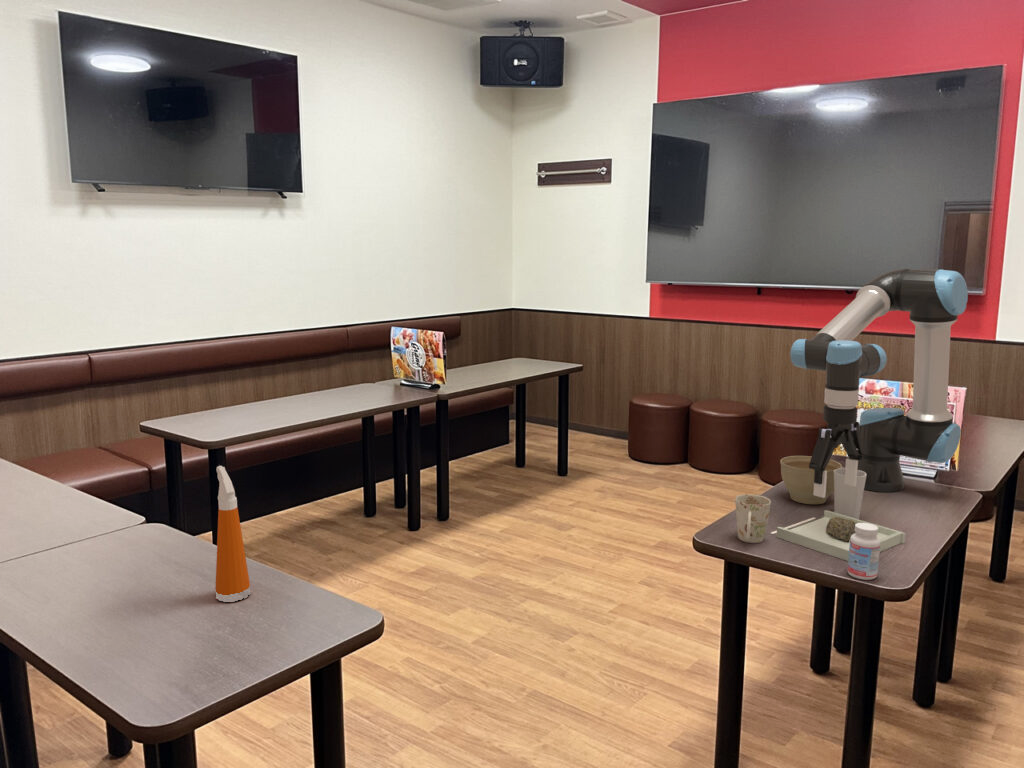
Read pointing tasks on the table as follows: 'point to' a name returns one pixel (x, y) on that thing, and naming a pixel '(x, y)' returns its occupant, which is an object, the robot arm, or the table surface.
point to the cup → (848, 494)
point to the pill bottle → (864, 552)
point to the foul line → (795, 524)
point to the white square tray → (824, 542)
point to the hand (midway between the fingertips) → (835, 490)
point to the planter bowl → (805, 479)
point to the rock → (841, 528)
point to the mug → (752, 517)
